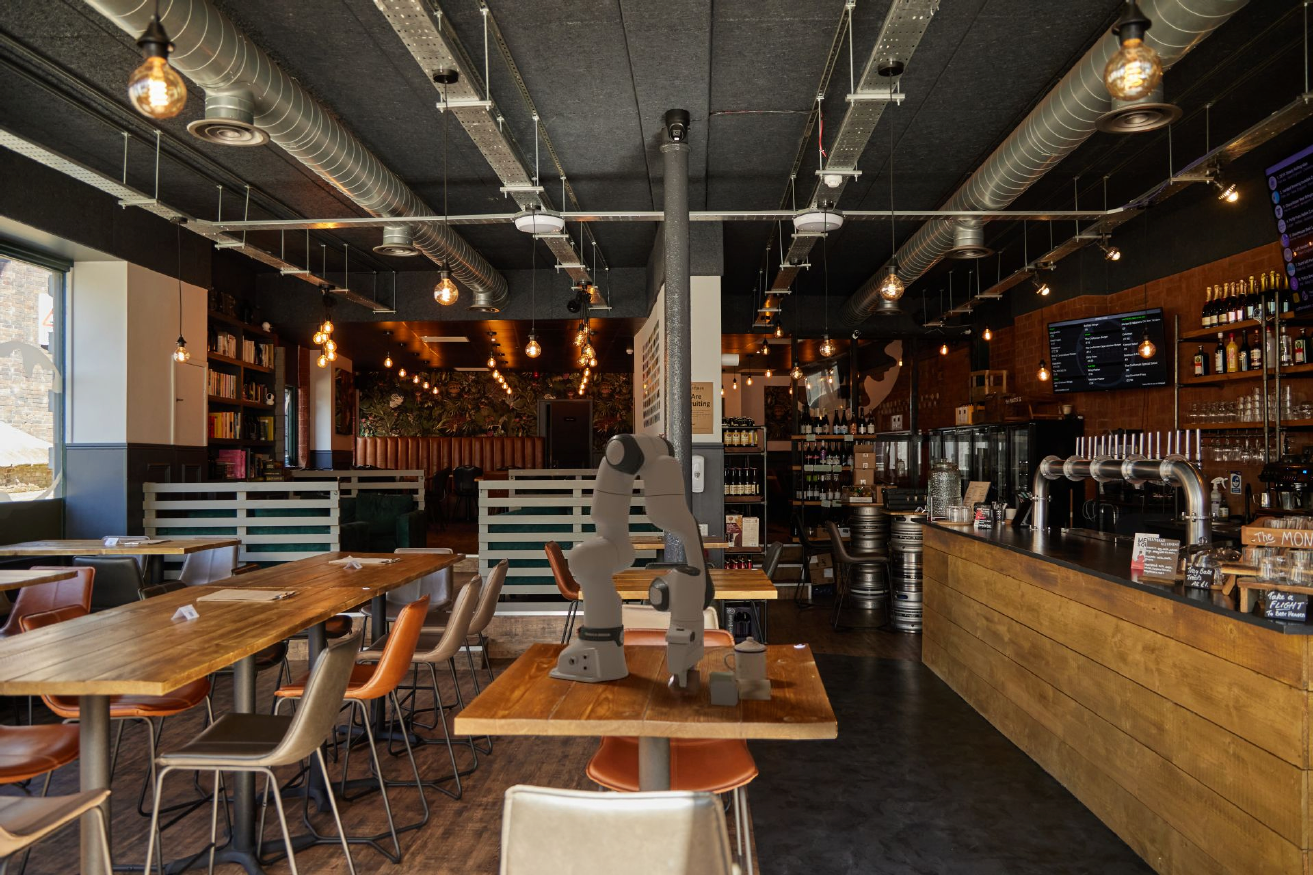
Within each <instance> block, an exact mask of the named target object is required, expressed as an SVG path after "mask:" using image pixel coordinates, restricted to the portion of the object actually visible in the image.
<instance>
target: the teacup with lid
mask: <svg viewBox="0 0 1313 875" xmlns="http://www.w3.org/2000/svg"><path fill="white" fill-rule="evenodd" d="M767 650H768V649H767V647H766V646H765V645H764V644H761V643H759V642H758V641H756V640H755V638H754V637H752V636H747V637H746V640H744V641H742V642H741V643H738V644H735V645H734V647H733V651H734V652H733V651H732V652H727V653H726V654H725V655H724V657H723V665H724V666H725V668H726V669H727V670H729V671H731V672H734V673H735V680H736V681H737V682H739V679H749V680H767V656H766V655H767ZM729 656H734V667H730V665H728V663H727V657H729Z"/></svg>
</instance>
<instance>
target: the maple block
mask: <svg viewBox="0 0 1313 875" xmlns="http://www.w3.org/2000/svg"><path fill="white" fill-rule="evenodd" d="M771 689H772V688H771V681H770V679H766V680H749V679H739V681H738V700H767V701H768V700H771V699H772V696H771V694H772V692H771Z"/></svg>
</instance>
